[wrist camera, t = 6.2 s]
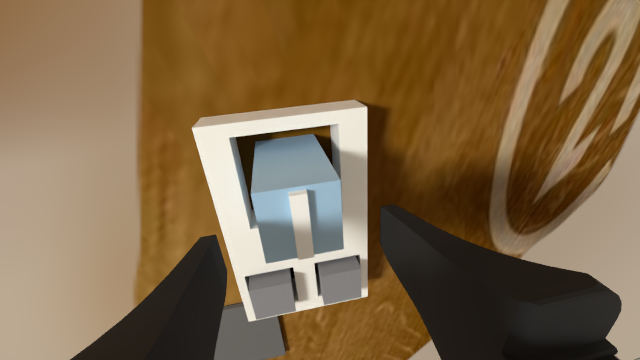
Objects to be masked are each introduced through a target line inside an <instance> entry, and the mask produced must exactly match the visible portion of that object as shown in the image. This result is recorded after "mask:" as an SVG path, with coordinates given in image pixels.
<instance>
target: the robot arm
mask: <svg viewBox="0 0 640 360" xmlns="http://www.w3.org/2000/svg"><path fill="white" fill-rule="evenodd" d="M380 244H381V246H382V249H383V251H384V253H385V255H386V258H387V260H388V262H389V264H390V265H391V267H392V269H393V270H394V272H395V274H396V275H397V277H398V279H399V280H400V282H401V283H402V285H403V287H404V288H405V290H406V291H407V293H408V295H409V296H410V298H411V300H412V301H413V303H414V305H415V306H416V308H417V310H418V312H419V313H420V315H421V318H422V320H423V322H424V324H425V326H426V328H427V330H428V332H429V334H430V336H431V338H432V340H433V343H434V345H435V347H436V349H437V351H438V353H439V356H440V358H441V360H620V359H619V358H618V357H617V356H615V354H616V353H617V352H618V351H617V349H616V348H615V346H613V345H612V344H611V343H610V342H609V341H608V340H606V339H605V338H606V336H607V334H608V333H609V331H610V330H611V328H612V326H613V325H614V323H615V321H616V320H617V318H618V316H619V314H620V312H621V300H620V297H619V296H618V295H617V294H616V293H614V292H613V291H612V290H610V289H609V288H607V287H606V286H604V285H603V284H602V283H600V282H599V281H597V280H596V279H595V278H593V277H592V276H590V275H589V274H587V273H582V272H576V271H571V270H566V269H560V268H556V267H550V266H546V265H542V264H538V263H534V262H530V261H526V260H522V259H518V258H515V257H511V256H508V255H505V254H502V253H498V252H495V251H492V250H489V249H486V248H483V247H481V246H478V245H476V244H473V243H470V242H468V241H465V240H463V239H461V238H458V237H456V236H454V235H452V234H450V233H447V232H445V231H443V230H441V229H439V228H437V227H435V226H433V225H431V224H429V223H428V222H426V221H424V220H422V219H420V218H418V217H417V216H415V215H413V214H411V213H409V212H408V211H406V210H404V209H402V208H400V207H399V206H397V205H394V204H391V205H386V206H381V218H380ZM226 286H227V269H226V266H225V263H224V259H223V256H222V253H221V250H220V246H219V243H218V240H217V237H216V235H211V236H205V237H201V238H200V239H199V240H198V241H197V242H196V243H195V244H194V246H193V247H192V248H191V249H190V250H189V252H188V253H187V254H186V255H185V256H184V258H183V259H182V260H181V261H180V262H179V263H178V264H177V266H176V267H175V268H174V269H173V270H172V271H171V272H170V273H169V275H168V276H167V277H166V278H165V279H164V280H163V281H162V282H161V283H160V284H159V285H158V286H157V287H156V288H155V289H154V290H153V291H152V292H151V293H150V294H149V295H148V296H147V297H146V298H145V299H144V300H143V301H142V302H141V303H140V304H139V305H138V306H137V307H136V308H134V309H133V310H132V311H131V312H130V313H129V314H128V315H127V316H125V317H124V318H123V319H122V320H121V321H120V322H119V323H117V324H116V325H115V326H113V327H112V328H111V329H110V330H108V331H107V332H106V333H105V334H104V335H102V336H101V337H100V338H98V339H97V340H96V341H95V342H93V343H92V344H91V345H90V346H88V347H87V348H85V349H84V350H83V351H81V352H80V353H79V354H77V355H76V356H74V357H73V358H72V359H70V360H214V355H215V349H216V343H217V338H218V333H219V328H220V323H221V318H222V313H223V307H224V302H225V296H226ZM635 360H640V358H637V359H635Z"/></svg>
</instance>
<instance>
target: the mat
mask: <svg viewBox="0 0 640 360" xmlns="http://www.w3.org/2000/svg"><path fill="white" fill-rule="evenodd" d="M281 355H286V351H285V346H284V342H283V337H282V333H281V328H280V323H279V319H278V316H274V317H269V318H264V319H260V320H255V321H250V322H249V321H248V318H247V314H246V311H245V308H244V304H243V303H238V304H233V305H228V306H224V307H223V313H222V318H221V323H220V328H219V333H218V338H217V343H216V349H215V355H214V360H264V359H269V358H273V357H277V356H281Z"/></svg>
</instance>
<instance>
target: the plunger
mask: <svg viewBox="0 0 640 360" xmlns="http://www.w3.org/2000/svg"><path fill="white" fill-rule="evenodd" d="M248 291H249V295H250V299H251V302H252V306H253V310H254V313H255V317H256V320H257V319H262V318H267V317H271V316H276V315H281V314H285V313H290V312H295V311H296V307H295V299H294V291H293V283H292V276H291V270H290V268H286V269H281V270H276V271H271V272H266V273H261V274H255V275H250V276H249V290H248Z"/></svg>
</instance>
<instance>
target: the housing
mask: <svg viewBox="0 0 640 360" xmlns="http://www.w3.org/2000/svg"><path fill="white" fill-rule="evenodd" d="M325 125H330V130H331V146H332V162H333V168H334V170H335V171H336V173H337V175H338V176H339V178H340V180H341V200H342V220H343V240H344V249H342V250H336V251H331V252H326V253H321V254H315V255H314V257H312V258H307V259H302V260H298V258H294V259H289V260H283V261H278V262H273V263H267V264H266V261H265V257H264V252H263V248H262V243H261V239H260V234H259V229H258V225H257V220H256V216H255V211H254V210H252V208H251V204H250V199H249V195H248V190H247V186H246V182H245V177H244V173H243V168H242V164H241V159H240V155H239V150H238V146H237V141H236V137H239V136H247V135H255V134H262V133H270V132H278V131H286V130H294V129H302V128H309V127H317V126H325ZM192 130H193V134H194V137H195V141H196V144H197V147H198V151H199V154H200V158H201V161H202V165H203V168H204V171H205V175H206V178H207V182H208V185H209V188H210V192H211V195H212V199H213V202H214V205H215V209H216V212H217V216H218V219H219V222H220V226H221V229H222V233H223V236H224V239H225V243H226V246H227V250H228V253H229V256H230V260H231V263H232V267H233V270H234V273H235V277H236V280H237V284H238V287H239V290H240V294H241V297H242V301H243V304H244V308H245V311H246V314H247V318H248V321H249V322H250V321H255V320H256V317H255V313H254V310H253V306H252V302H251V299H250V295H249V291H248V290H249V276H250V275H255V274H261V273H266V272H271V271H276V270H281V269H286V268H292V267H293V269H294V275H295V278H292V283H293V291H294V299H295V307H296V311H295V312H297V311H302V310H306V309H311V308H316V307H321V306H325V305H324V302H323V298H322V294H321V289H320V285H319V281H318V277H317V274H315V266H314V263H318V262H323V261H328V260H333V259H338V258H344V257H349V256H354V255H355V256H356V258H357V261H358V263H359V265H360V267H361V295H362V297H360V298H363V297H367V296H368V252H367V106H365V105H363V104H362V103H360V102H358V101H356V100H348V101H340V102H331V103H323V104H314V105H305V106H297V107H288V108H280V109H271V110H263V111H254V112H246V113H237V114H229V115H220V116H212V117H203V118H200V119H199V121H198V122H197V123H196V124H195V125H194V126H193V127H192ZM355 299H358V298H355ZM351 300H353V299H351ZM346 301H349V300H346ZM341 302H344V301H341ZM337 303H339V302H337ZM332 304H335V303H332ZM327 305H330V304H327ZM290 313H292V312H290ZM285 314H288V313H285ZM281 315H283V314H281ZM276 316H278V315H276ZM271 317H274V316H271ZM267 318H269V317H267ZM262 319H264V318H262ZM257 320H260V319H257Z"/></svg>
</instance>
